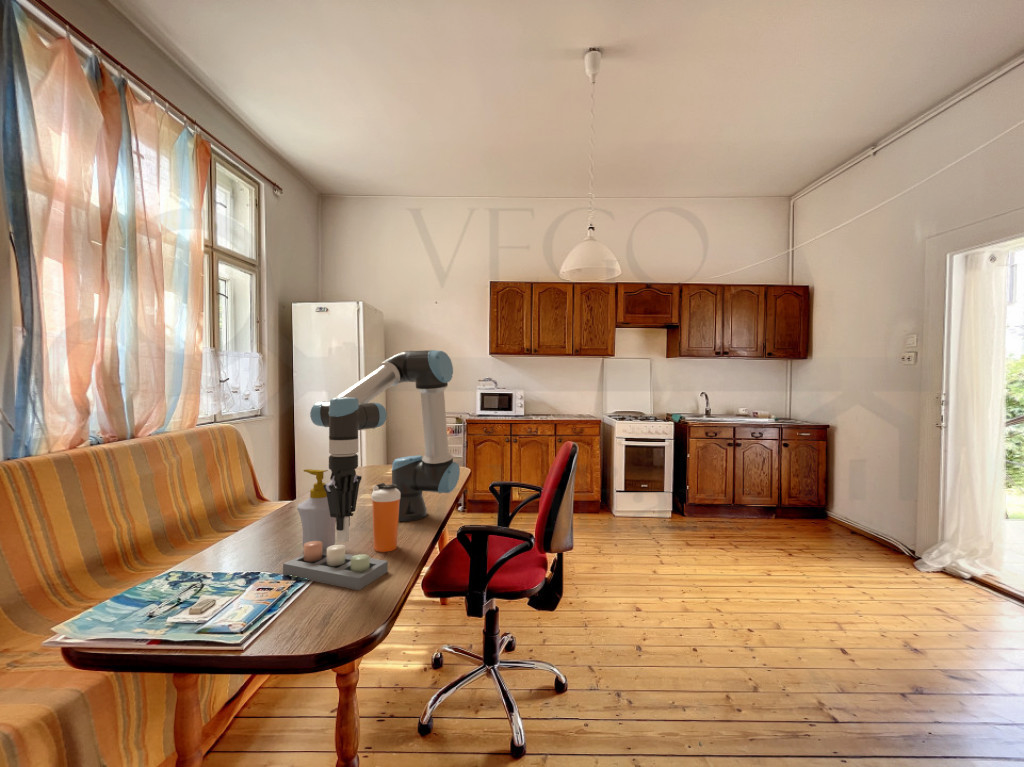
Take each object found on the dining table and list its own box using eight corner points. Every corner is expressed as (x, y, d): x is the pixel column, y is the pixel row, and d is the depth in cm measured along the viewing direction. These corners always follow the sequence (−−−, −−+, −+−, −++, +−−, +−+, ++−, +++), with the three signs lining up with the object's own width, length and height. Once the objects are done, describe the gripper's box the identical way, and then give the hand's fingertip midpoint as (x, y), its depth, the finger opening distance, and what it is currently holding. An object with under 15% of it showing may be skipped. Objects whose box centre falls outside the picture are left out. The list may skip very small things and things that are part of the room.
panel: (316, 558, 135) (316, 548, 135) (387, 571, 126) (387, 561, 126) (283, 574, 123) (283, 563, 123) (359, 590, 115) (359, 578, 115)
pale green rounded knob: (358, 567, 125) (358, 553, 125) (373, 570, 123) (373, 555, 123) (346, 574, 120) (346, 559, 120) (361, 577, 119) (361, 562, 119)
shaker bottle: (392, 554, 139) (392, 488, 139) (365, 551, 141) (365, 487, 140) (404, 544, 147) (405, 482, 147) (379, 542, 149) (379, 480, 149)
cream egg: (335, 557, 128) (335, 543, 128) (349, 560, 126) (349, 546, 126) (322, 564, 123) (322, 549, 123) (336, 566, 122) (337, 552, 122)
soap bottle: (313, 539, 151) (314, 465, 150) (348, 543, 148) (349, 467, 148) (287, 553, 138) (288, 472, 138) (324, 557, 136) (325, 474, 135)
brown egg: (312, 553, 130) (312, 540, 130) (326, 556, 129) (326, 542, 129) (299, 560, 126) (299, 545, 126) (313, 562, 124) (313, 547, 124)
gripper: (347, 450, 131) (347, 531, 131) (314, 457, 119) (314, 547, 119) (369, 451, 129) (369, 534, 129) (338, 459, 117) (338, 551, 117)
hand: (342, 540), depth 124 cm, fingers closed
